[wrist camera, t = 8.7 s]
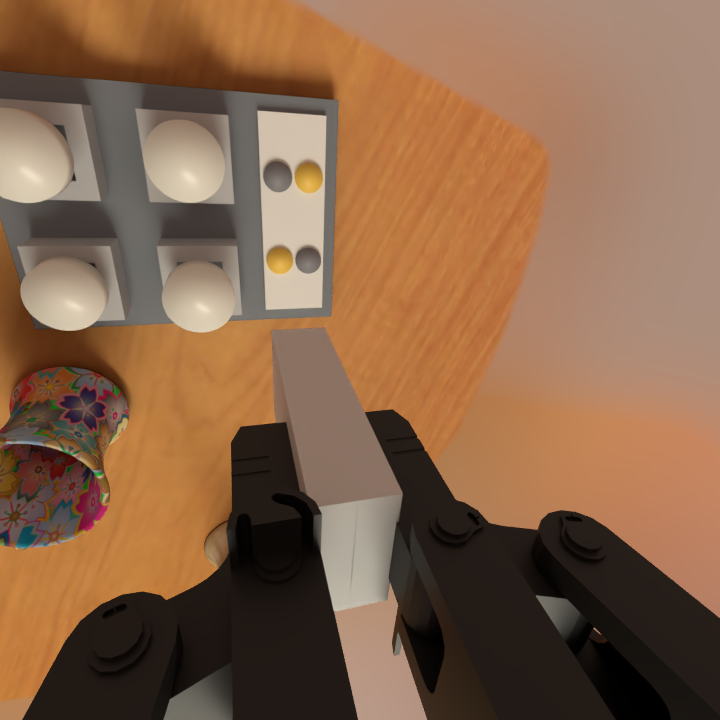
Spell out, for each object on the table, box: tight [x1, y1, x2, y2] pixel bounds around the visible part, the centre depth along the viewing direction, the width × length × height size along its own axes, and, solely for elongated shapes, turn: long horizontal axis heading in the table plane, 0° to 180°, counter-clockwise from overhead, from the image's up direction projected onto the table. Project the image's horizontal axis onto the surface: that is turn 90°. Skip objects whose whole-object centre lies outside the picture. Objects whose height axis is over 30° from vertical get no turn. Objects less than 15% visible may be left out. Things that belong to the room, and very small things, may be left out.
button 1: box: [20, 256, 109, 331], centre depth 29 cm, size 4×4×4 cm
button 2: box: [0, 108, 74, 203], centre depth 24 cm, size 4×4×4 cm
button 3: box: [162, 260, 235, 332], centre depth 30 cm, size 4×4×4 cm
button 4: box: [143, 120, 225, 203], centre depth 27 cm, size 4×4×4 cm
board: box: [0, 71, 339, 329], centre depth 31 cm, size 22×16×4 cm
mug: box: [0, 367, 129, 550], centre depth 33 cm, size 12×9×11 cm
